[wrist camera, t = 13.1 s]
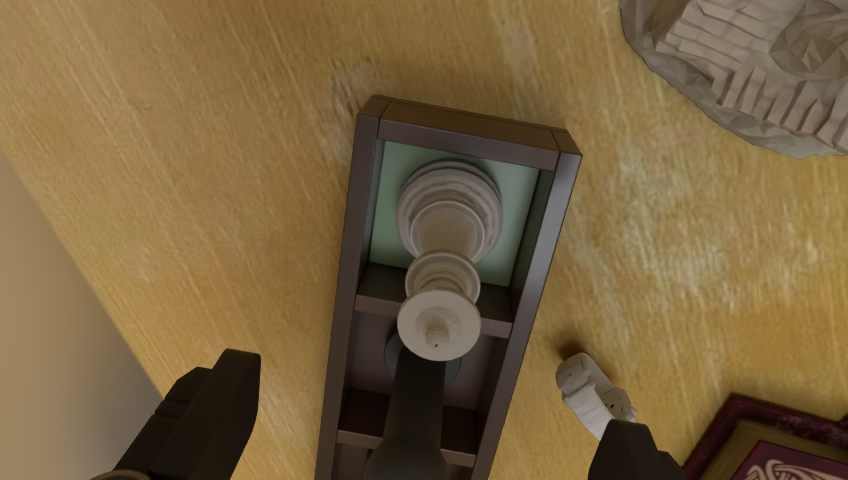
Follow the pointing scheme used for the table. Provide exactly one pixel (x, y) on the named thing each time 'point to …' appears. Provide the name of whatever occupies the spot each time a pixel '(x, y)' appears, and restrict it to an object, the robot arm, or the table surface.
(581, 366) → the white ring
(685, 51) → the ceramic cottage
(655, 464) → the robot arm
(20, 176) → the table surface
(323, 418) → the rack
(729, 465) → the book
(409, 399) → the pawn
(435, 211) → the chess piece
